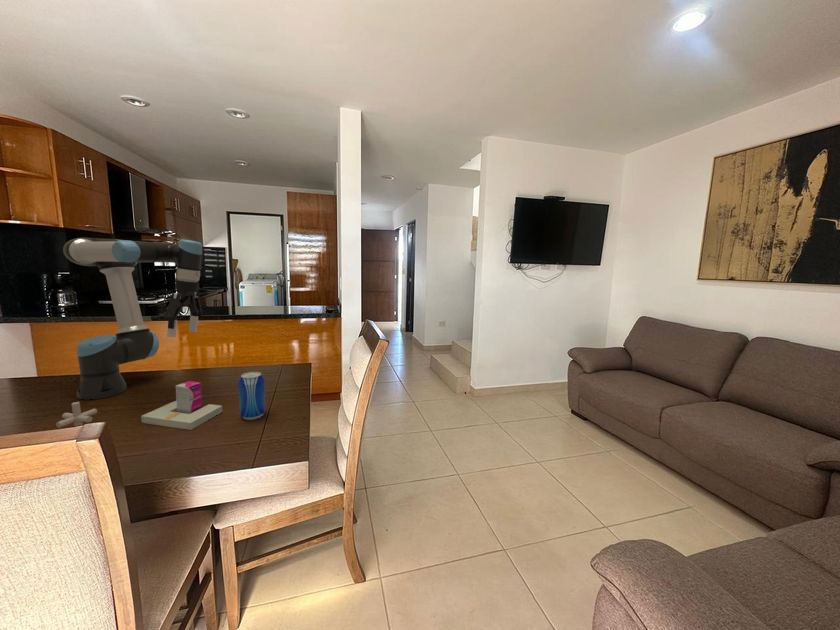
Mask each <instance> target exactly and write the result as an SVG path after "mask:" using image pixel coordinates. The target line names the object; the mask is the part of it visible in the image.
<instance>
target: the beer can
mask: <svg viewBox="0 0 840 630" xmlns="http://www.w3.org/2000/svg"><path fill="white" fill-rule="evenodd" d="M265 388H266V387H265V378H264V377H263V374H262V373H261V372H260V371H248V372H245V373H242V374H241V375H240V379H239V381H238V398H239V415H240V417H242V419H243V420H245V421H255V420H258V419H260V418H262V417H263V416H264V414H265V413H266V396H265V395H266V391H265ZM261 416H262V417H261ZM257 418H258V419H257ZM254 419H255V420H254Z"/></svg>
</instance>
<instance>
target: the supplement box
mask: <svg viewBox="0 0 840 630" xmlns="http://www.w3.org/2000/svg"><path fill="white" fill-rule="evenodd" d="M202 388H203V387H202V382H200V381H199V382H198V381H194V380H193V381H192V380H187V381H185V382H182V383H179V384H177V385H176V384H175V399H176V400H175V401H176V402H177V412H178V413H186V414H191V413H193V412H195V411H197V410H199V409H201V408H203V390H202Z"/></svg>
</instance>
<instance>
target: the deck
mask: <svg viewBox="0 0 840 630" xmlns="http://www.w3.org/2000/svg"><path fill="white" fill-rule="evenodd" d="M221 412H222V413H223V405H220V404H210V403H208V404H207V405H204V406H202V408H201V409H199V410H197V411H195V412H193V413H191V414H186V413H178V412H177V402H176V400H174V401H172V402H169V403H167V404H165V405H162V406H160V407H158V408H156V409H154V410H152V411H149V412H146V413H145V414H142V415H141V416H140V419H141V423H142V424H147V425H154V426H160V427H161V426H162V427H167V428H174V429H183V430H189V431H192V430H193V429H195V428H198V427H199V426H200V425H201V426H202V424H204V423H206V422H208V421H209V419H210V420H211V419H213V418H215V417H217V416H218V415H220V414H222V413H221ZM216 415H217V416H216Z"/></svg>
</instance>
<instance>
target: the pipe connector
mask: <svg viewBox="0 0 840 630" xmlns="http://www.w3.org/2000/svg"><path fill="white" fill-rule="evenodd" d="M71 410H72V413H71V412H64V413H62V416H61V417H62V420H60V421H57V422H56V423H55V426H56V427H57V428H58V429H60V428H62V427H64V426H66V425H70V424H72V423H73V425H74V427H75V426H78V425H83V426H84V424H83V422H84V423H90V422H92V421H93V417H92V416H94V415H96V414H98V409H96V408H92V409H90V410H89V409H88V410H87V411H83V412H82V411H81V404H80V401H75V402H72V403H71Z"/></svg>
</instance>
